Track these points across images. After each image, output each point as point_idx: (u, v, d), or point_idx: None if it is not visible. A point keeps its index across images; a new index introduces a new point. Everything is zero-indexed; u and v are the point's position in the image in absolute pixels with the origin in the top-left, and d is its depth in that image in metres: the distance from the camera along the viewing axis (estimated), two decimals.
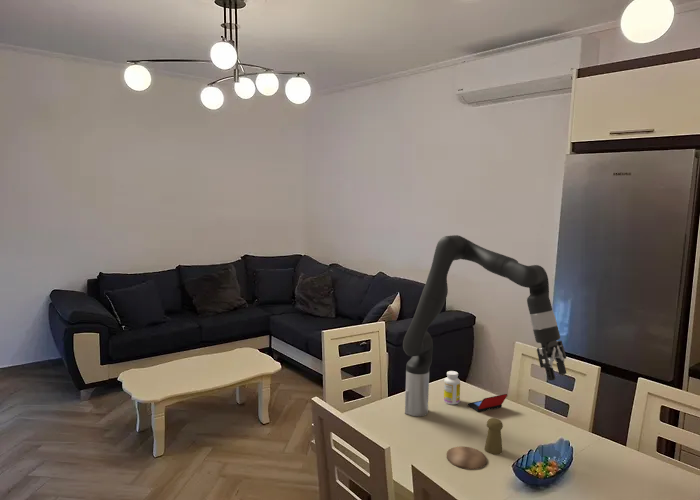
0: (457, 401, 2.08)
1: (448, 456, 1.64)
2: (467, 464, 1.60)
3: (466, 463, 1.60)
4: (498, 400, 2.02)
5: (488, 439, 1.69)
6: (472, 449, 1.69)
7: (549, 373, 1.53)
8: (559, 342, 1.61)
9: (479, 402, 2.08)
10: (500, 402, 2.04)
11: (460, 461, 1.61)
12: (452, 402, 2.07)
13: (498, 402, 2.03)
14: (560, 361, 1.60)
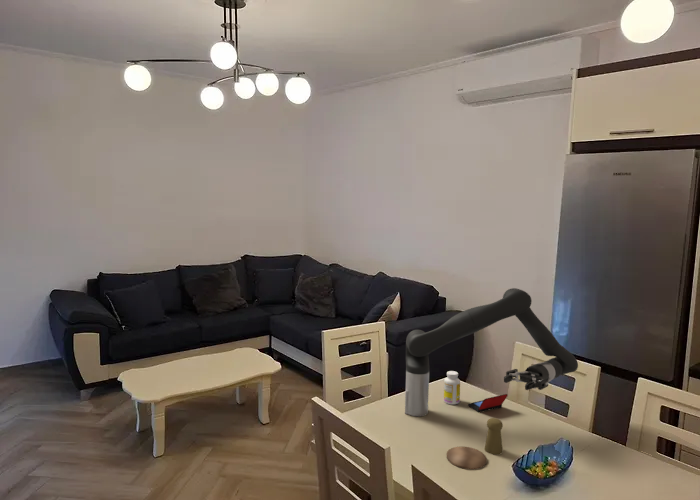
0: (457, 401, 2.08)
1: (448, 456, 1.64)
2: (467, 464, 1.60)
3: (466, 463, 1.60)
4: (498, 400, 2.02)
5: (488, 439, 1.69)
6: (472, 449, 1.69)
7: (532, 387, 1.72)
8: None
9: (479, 402, 2.08)
10: (500, 402, 2.04)
11: (460, 461, 1.61)
12: (452, 402, 2.07)
13: (498, 402, 2.03)
14: (511, 378, 1.81)
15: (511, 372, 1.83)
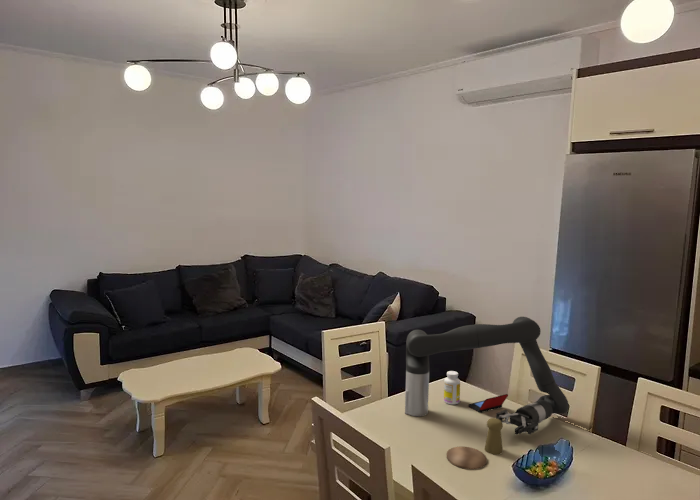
0: (457, 401, 2.08)
1: (448, 456, 1.64)
2: (467, 464, 1.60)
3: (466, 463, 1.60)
4: (499, 400, 2.02)
5: (488, 439, 1.69)
6: (472, 449, 1.69)
7: (521, 431, 1.71)
8: None
9: (479, 403, 2.07)
10: (501, 402, 2.03)
11: (460, 461, 1.61)
12: (452, 402, 2.07)
13: (499, 402, 2.03)
14: (501, 420, 1.80)
15: (501, 414, 1.82)
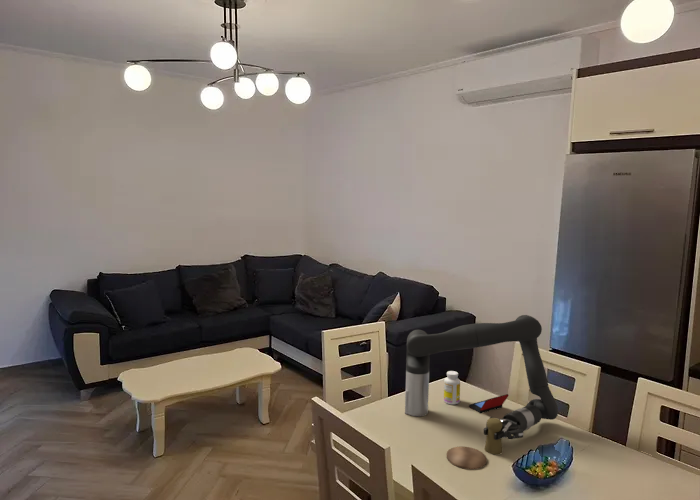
0: (457, 401, 2.08)
1: (448, 456, 1.64)
2: (467, 464, 1.60)
3: (466, 463, 1.60)
4: (500, 400, 2.01)
5: (488, 439, 1.69)
6: (472, 449, 1.69)
7: (501, 436, 1.67)
8: None
9: (480, 403, 2.07)
10: (501, 402, 2.03)
11: (460, 461, 1.61)
12: (452, 402, 2.07)
13: (499, 402, 2.03)
14: None
15: None
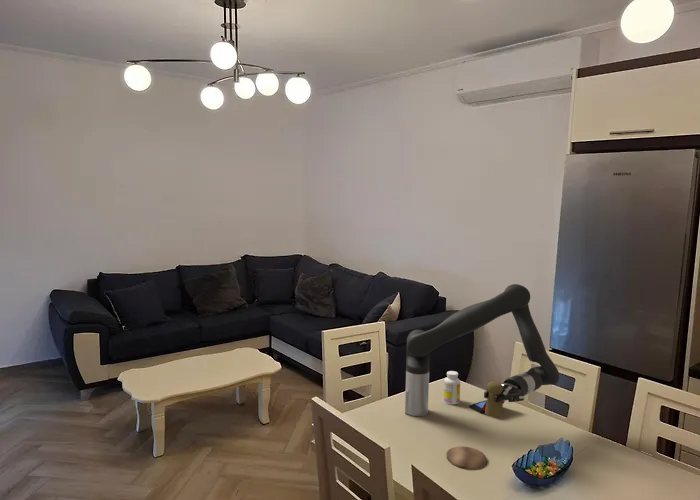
0: (457, 401, 2.08)
1: (448, 456, 1.64)
2: (467, 464, 1.60)
3: (466, 463, 1.60)
4: None
5: (488, 402, 1.68)
6: (472, 449, 1.69)
7: (502, 399, 1.66)
8: None
9: (480, 403, 2.07)
10: None
11: (460, 461, 1.61)
12: (452, 402, 2.07)
13: None
14: None
15: None
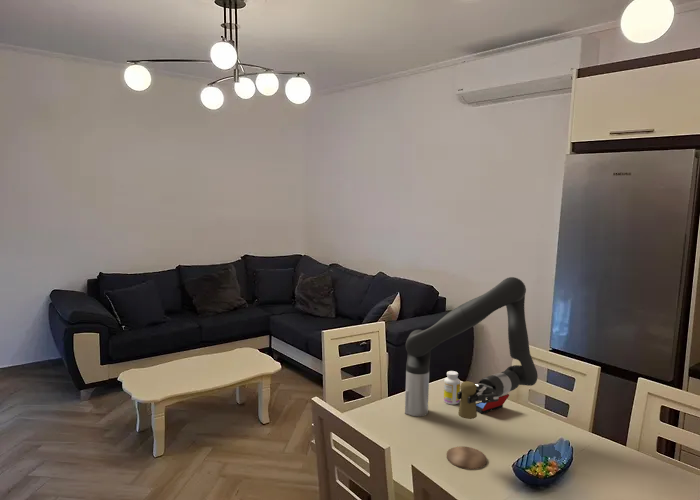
0: (457, 401, 2.08)
1: (448, 456, 1.64)
2: (467, 464, 1.60)
3: (466, 463, 1.60)
4: (501, 401, 2.01)
5: (461, 403, 1.62)
6: (472, 449, 1.69)
7: (475, 400, 1.60)
8: None
9: (480, 403, 2.07)
10: (502, 402, 2.03)
11: (460, 461, 1.61)
12: (452, 402, 2.07)
13: (500, 402, 2.02)
14: None
15: None
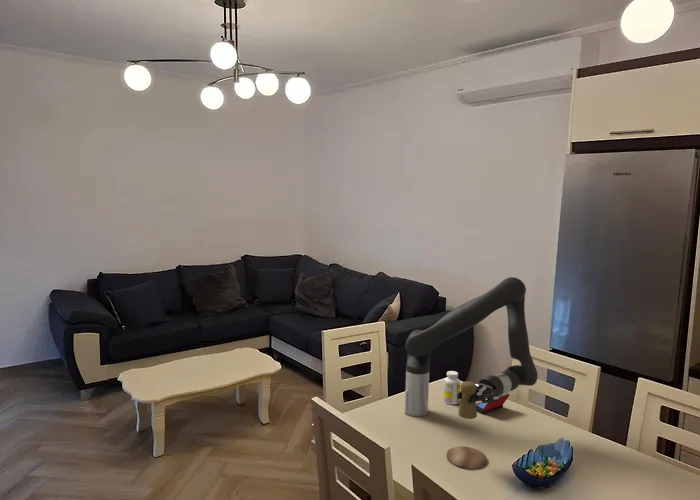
0: (457, 401, 2.08)
1: (448, 456, 1.64)
2: (467, 464, 1.60)
3: (466, 463, 1.60)
4: (501, 401, 2.01)
5: (461, 403, 1.62)
6: (472, 449, 1.69)
7: (475, 400, 1.60)
8: None
9: (480, 404, 2.06)
10: (502, 402, 2.03)
11: (460, 461, 1.61)
12: (452, 402, 2.07)
13: (501, 402, 2.02)
14: None
15: None
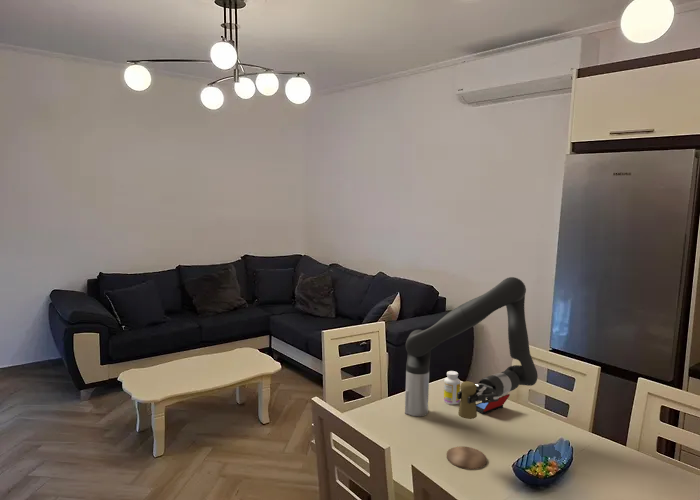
0: (457, 401, 2.08)
1: (448, 456, 1.64)
2: (467, 464, 1.60)
3: (466, 463, 1.60)
4: (501, 401, 2.01)
5: (461, 403, 1.62)
6: (472, 449, 1.69)
7: (475, 400, 1.60)
8: None
9: (481, 404, 2.06)
10: (502, 402, 2.03)
11: (460, 461, 1.61)
12: (452, 402, 2.07)
13: (501, 402, 2.02)
14: None
15: None
